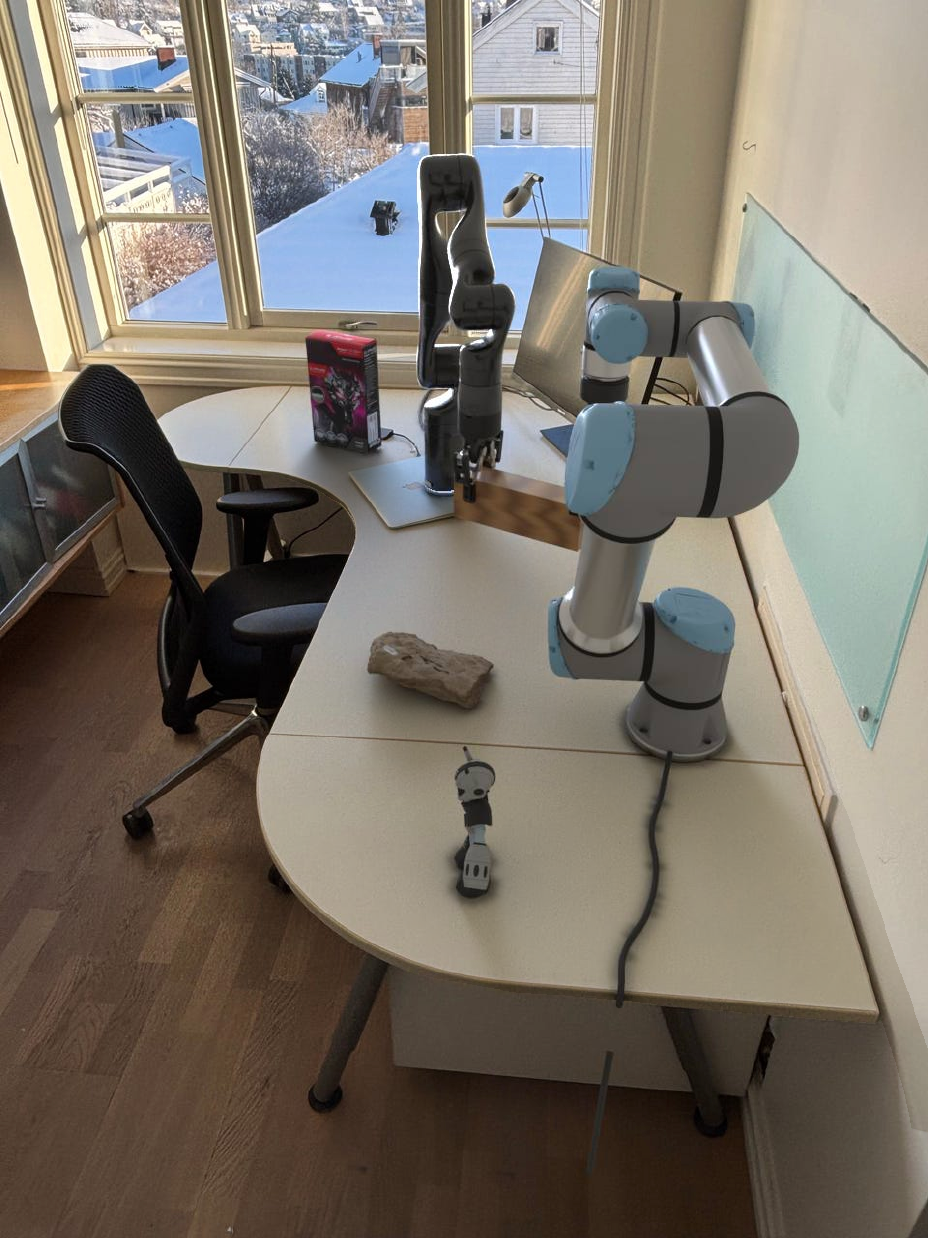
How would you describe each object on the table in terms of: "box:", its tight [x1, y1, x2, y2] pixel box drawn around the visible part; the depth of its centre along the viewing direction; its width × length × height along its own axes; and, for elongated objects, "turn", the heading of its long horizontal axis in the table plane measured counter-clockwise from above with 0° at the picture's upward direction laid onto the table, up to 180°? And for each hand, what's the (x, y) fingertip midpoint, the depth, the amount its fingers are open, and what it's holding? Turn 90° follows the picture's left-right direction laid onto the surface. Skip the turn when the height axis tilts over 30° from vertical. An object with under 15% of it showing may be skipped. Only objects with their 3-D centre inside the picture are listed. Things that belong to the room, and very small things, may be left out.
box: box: [453, 463, 584, 553], centre depth 162 cm, size 25×6×8 cm, turn 60°
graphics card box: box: [304, 329, 382, 454], centre depth 226 cm, size 17×7×27 cm, turn 62°
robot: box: [453, 745, 496, 899], centre depth 114 cm, size 20×5×20 cm, turn 3°
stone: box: [366, 631, 495, 710], centre depth 151 cm, size 21×15×6 cm
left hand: (477, 494), depth 166 cm, fingers closed on box, 5 cm apart
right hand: (593, 500), depth 153 cm, fingers open, 13 cm apart
